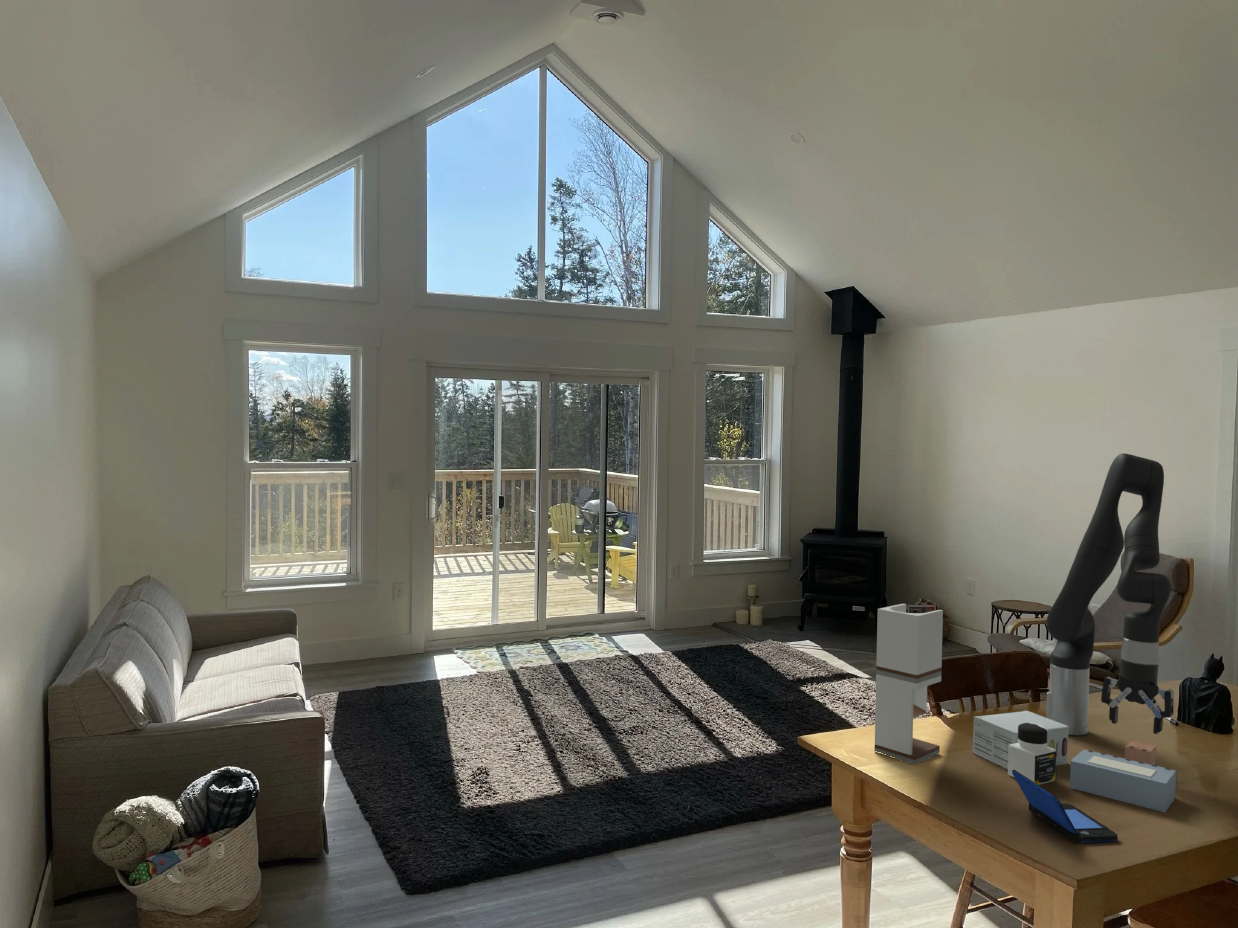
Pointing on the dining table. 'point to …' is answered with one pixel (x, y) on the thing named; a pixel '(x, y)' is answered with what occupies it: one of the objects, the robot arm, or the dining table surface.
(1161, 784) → the block
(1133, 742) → the stub
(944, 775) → the dining table surface
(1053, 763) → the medicine bottle
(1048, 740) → the supplement box
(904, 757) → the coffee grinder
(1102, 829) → the handheld game console
